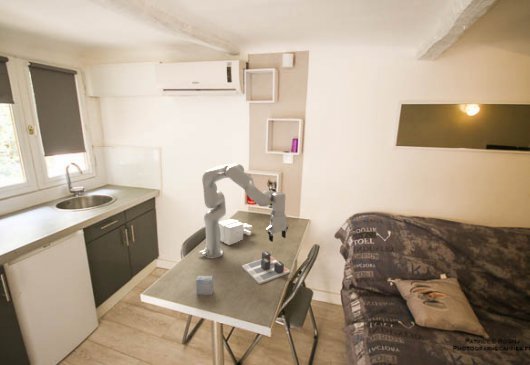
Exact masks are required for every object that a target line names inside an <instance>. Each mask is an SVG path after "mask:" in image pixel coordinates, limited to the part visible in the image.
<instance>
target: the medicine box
mask: <svg viewBox="0 0 530 365" xmlns="http://www.w3.org/2000/svg"><path fill="white" fill-rule="evenodd" d="M195 283H196V284H195V287H196V295H197V296H203V295H204V296H211V295H213V291H214V276H213V275H198V276H197V278H196V280H195Z"/></svg>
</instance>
